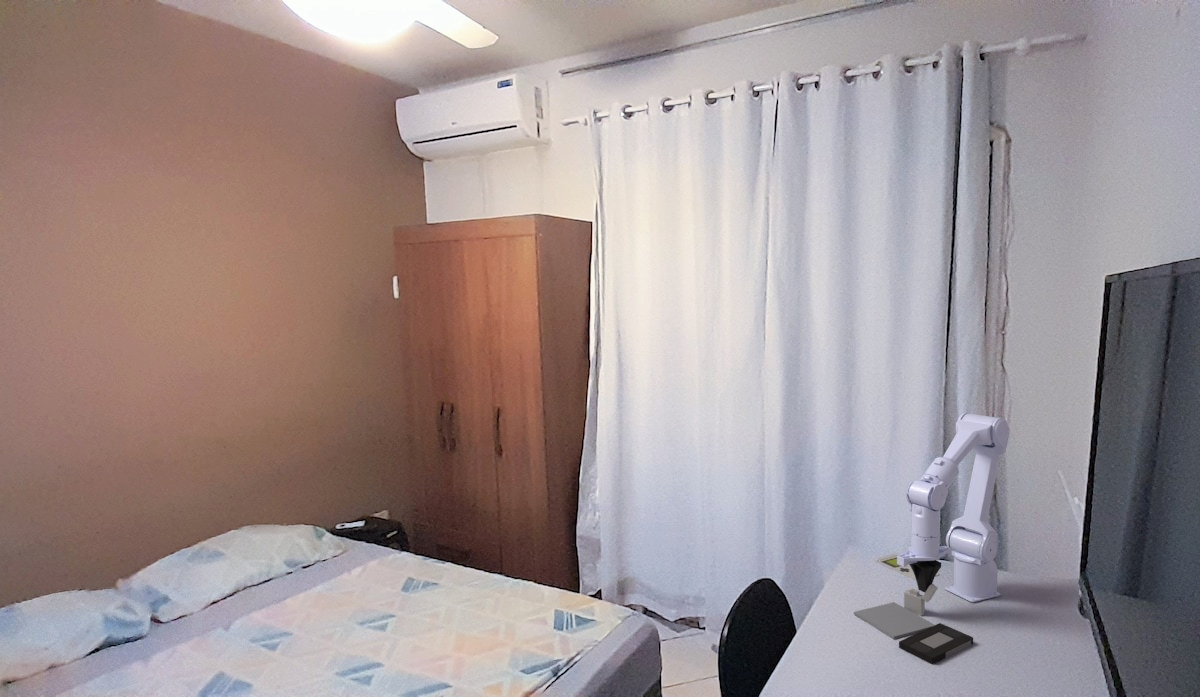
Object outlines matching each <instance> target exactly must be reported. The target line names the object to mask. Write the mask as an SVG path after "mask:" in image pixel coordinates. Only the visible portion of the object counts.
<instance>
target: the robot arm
mask: <svg viewBox="0 0 1200 697" xmlns="http://www.w3.org/2000/svg"><path fill="white" fill-rule="evenodd" d="M955 433H956V434H955V436H954V437H953V439H952V440H951V443H950V444H949V446H948V448H947V449H946V451H945V453H944V454H943V456H939V457H936V458H934V460H933V461H932V462H931V464H930V465H929V466H928V468H927V469H926V470H925V471H924V473H923V475H922V476H921V477H920V479H917V480H914V481H911V483H910V484H909V485H908V488H907V490H906V491H907V492H906V493H905V496H906V501H907V502H908V507H909V508H908V509H909V511H910V513H911V530H910V531H911V533H910V535H911V536H910V537H911V538H910V539H911V540H910V545H909V546H908V550H907V551H905V552H903V553H902V554H897V555H898V556H897V564H898V565H900V566H903V567H906V566H907V565H908V564H909V565H910V566H911V568H912V570H913V572H914V575H915V578H916V580H915V581H916V584H917V590H918V591H919V592H922V593H923V594H925V592H926V590H927V589H928V587H929V586H930V585H931V584H934V580H935V577H936V576H935V575H936V574H937V572H938V573H939V571H940V570H941V568H942V562H940V561H938V560H940V559H941V558H944V557H946V558H950V557H951V558H952V556H953V585H949V586H945V587H944V589H945V591H948V593H949V592H950V593H952V594H954V595H955V596H958V597H959V598H962V599H964V600H967V601H968V602H970V603H976V602H980V601H983V600H987V599H992V598H995V597H999V596H1001V593H1000V592H998V572H999V571H998V566H997V564H996V562H995V560H994V559H995V558H996V556H997V552H998V543H997V542H998V541H997V540H998V532H997V531H996V530H995V529H994V528H993V526H992V525H991V524H990V523H989V522H988V518H989V514H990V508H991V503H992V500H993V493H994V489H995V485H996V479H997V474H998V473H997V472H998V469H999V464H1000V458H1001V455H1002V454H1004V453H1006V451H1007V448H1008V443H1009V437H1010V433H1011V429H1010V427H1009V424H1008V422H1007V420H1006V419H1005V417H994V416H988V415H982V414H975V413H970V412H967V411H965V412H963V413H961V414H960V416H958V419H957V421H956V422H955ZM972 450H973V451H974V453H975V456H974V462H973V467H972V473H971V477H970V482H969V486H968V492H967V495H966V501H965V507H964V511H963V515H962V516H960V517H958V518H955V519H953V520H952V522H951V524H950V528H949V530H948V532H947V533H946V536H945V544H946V545H942V546H940V517H941V516H940V514H941V513H940V512H941V509H942V508H943V507H944V506H945V503H946V501H947V496H948V494H949V490H948V489H949V487H950V486H951V485H952V483H954V480H956V477H957V476H958V475H959V473H960V470H959V467H958V466H959V465H960V464H961V462H962V461H963V460H964V459H965V458H966V456H968V454H969V453H970V452H971V451H972ZM975 531H976V532H975Z"/></svg>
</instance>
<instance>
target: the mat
mask: <svg viewBox="0 0 1200 697" xmlns="http://www.w3.org/2000/svg"><path fill="white" fill-rule="evenodd" d="M853 615H854V616H856V617H858V618H859V619H860V620H862V621H864V622H866V623H867V624H869V625H870V626H872V627H873V628H875V629H877V630H878V631H880V632H882V634H885V635H886V636H888V637H889V638H891V639H892V640H896V639H900V638H903V637H909V636H912V635H915V634H917V633H919V632H921V631H923V630H926V629H928V628H930V627H932V626H934V625H935V624H934V623H933V622H930V620H927V619H925V618H924V617H923V616H919V615H916V614H915V613H913V612H911V611H909V610H907V609H906V608H904V606H902V605H901V604H899V603H896V602H889V603H886V604H881V605H877V606H874V607H873V606H872V607H869V608H864V609H860V610H857V611H853Z"/></svg>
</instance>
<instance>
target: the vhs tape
mask: <svg viewBox="0 0 1200 697" xmlns="http://www.w3.org/2000/svg"><path fill="white" fill-rule="evenodd" d="M973 645H974V637H973V636H971V635H968V634H966V633H964V632H962V631H960V630H957V629H955V628H952V627H950V626H949V625H946V624H945V623H941V622H939V623H937V624H934V626H932V627H930V628H928V629H926V630H923V631H921V632H919V633H915V634H912V635H909V636H907V637H905V638H904V639H902V640H899V641H898V648H899V649H901V650H903V651H904V652H906V653H908V654H910V655H912V656H914V657H917V658H918V659H920V660H922V661H923V662H926V663H928V664H930V665H932V666H933V665H934V664H937V663H939V662H941V661H943V660H945V659H946V658H947V657H949V656H951V655H953V654H955V653H958V652H959V651H961V650H964V649H965V648H968V647H969V646H973Z"/></svg>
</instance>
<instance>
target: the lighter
mask: <svg viewBox="0 0 1200 697" xmlns="http://www.w3.org/2000/svg"><path fill="white" fill-rule="evenodd" d="M938 588H939V587H938V586H936V585H935V584H934V583H932V584H931V585H930V586H929V587H928V589H927V590H926V592H925V593H923V594H921V593H920V590H919V589H915V588H909V589H908V590H905V591H904V592H903V607H904V608H906V609H907V610H909V611H911V612H913V613H915V614H916V615H918V616H920V617H923V616H924V615H925V613H926V612H925V611H926V610H925V609H926V608H925V606H926V603H929V602H930V601H931V600H932V598H933V596H934V595H935V593H936V592H937V590H938Z"/></svg>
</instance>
